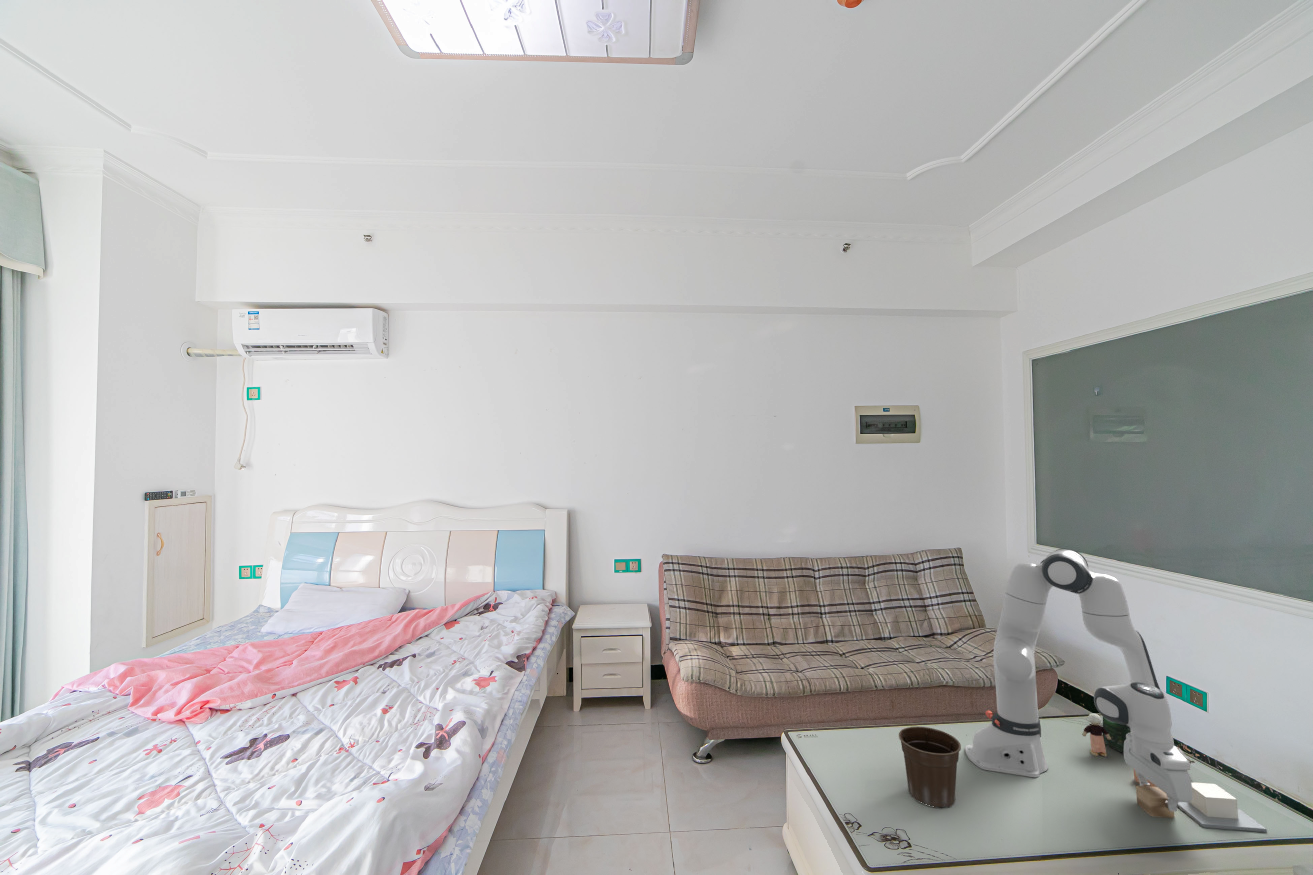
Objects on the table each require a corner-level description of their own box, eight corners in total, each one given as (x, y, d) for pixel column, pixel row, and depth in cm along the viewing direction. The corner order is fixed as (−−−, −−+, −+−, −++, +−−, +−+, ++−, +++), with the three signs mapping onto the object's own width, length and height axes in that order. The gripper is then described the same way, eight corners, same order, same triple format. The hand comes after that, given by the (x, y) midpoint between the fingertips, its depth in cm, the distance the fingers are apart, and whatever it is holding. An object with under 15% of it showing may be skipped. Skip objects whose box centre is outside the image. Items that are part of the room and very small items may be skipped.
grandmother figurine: (1105, 750, 180) (1102, 711, 180) (1114, 756, 176) (1111, 716, 176) (1080, 750, 180) (1077, 710, 181) (1088, 756, 177) (1085, 716, 177)
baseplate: (1202, 826, 142) (1200, 803, 142) (1163, 794, 156) (1162, 773, 156) (1266, 831, 139) (1264, 808, 140) (1221, 798, 153) (1219, 777, 153)
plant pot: (961, 786, 162) (958, 731, 163) (966, 819, 148) (963, 758, 149) (902, 775, 169) (899, 722, 170) (901, 805, 155) (898, 747, 155)
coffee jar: (1147, 753, 177) (1142, 695, 178) (1126, 756, 176) (1121, 697, 177) (1117, 739, 187) (1113, 683, 188) (1097, 741, 185) (1093, 685, 186)
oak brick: (1150, 816, 147) (1149, 797, 147) (1137, 803, 152) (1135, 785, 152) (1174, 818, 146) (1173, 798, 146) (1159, 805, 151) (1158, 786, 151)
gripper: (1114, 728, 161) (1119, 777, 160) (1167, 766, 141) (1173, 821, 140) (1138, 729, 160) (1143, 778, 159) (1195, 767, 140) (1201, 823, 139)
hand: (1158, 799), depth 149 cm, fingers open, 8 cm apart
